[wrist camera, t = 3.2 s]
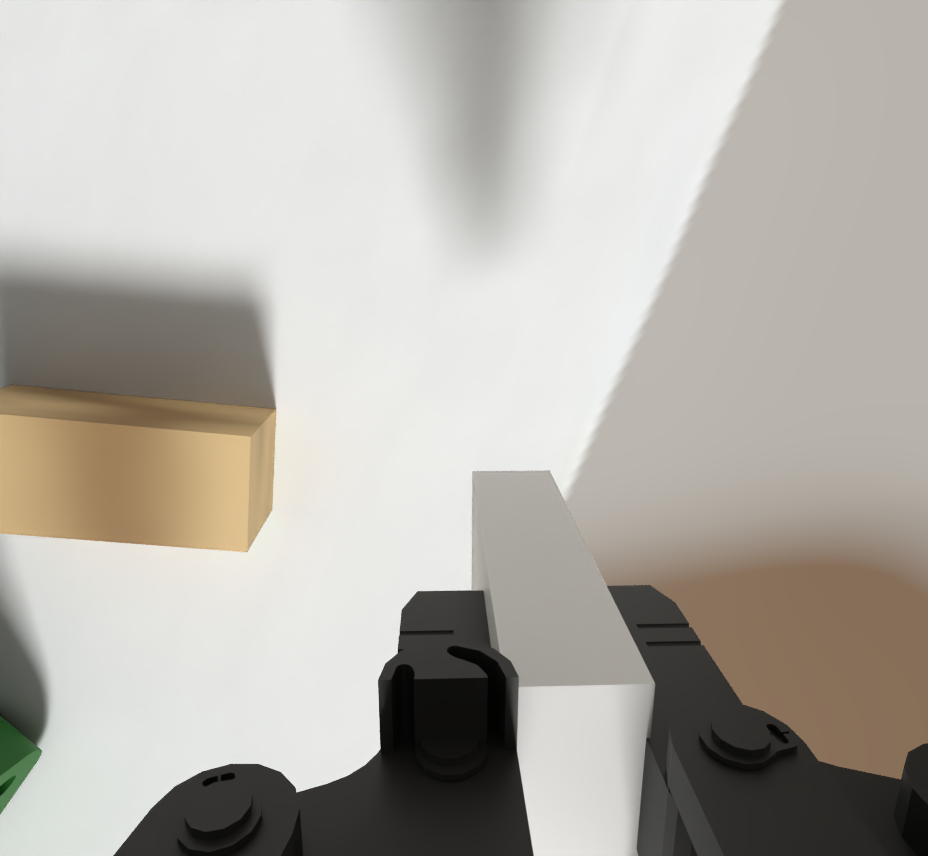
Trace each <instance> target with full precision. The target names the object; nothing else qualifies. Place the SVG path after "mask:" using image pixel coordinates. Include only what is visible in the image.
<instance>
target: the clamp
mask: <svg viewBox="0 0 928 856" xmlns="http://www.w3.org/2000/svg"><path fill="white" fill-rule="evenodd" d="M41 753H42V750H41V749H40V748H38V747H37V746H36V745H35V744H34V743H32V742H31V741H30V740H29V739H28V738H26V737H25V736H24V735H23V734H22V733H20V732H19V731H18V730H17V729H15V728H14V727H13V726H12V725H11V724H9V723H8V722H7V721H6V720H5V719H3V718H2V717H1V716H0V814H1V812H2V811H3V809H4V808H5V807H6V805H7V804H8V802H9V801H10V799H11V798H12V797H13V795H14V794H15V792H16V791H17V789H18V788H19V787H20V785H21V784H22V782H23V781H24V779H25V778H26V777H27V775H28V774H29V772H30V771H31V769H32V768H33V767H34V765H35V764H36V762H37V761H38V759H39V757H40V755H41Z"/></svg>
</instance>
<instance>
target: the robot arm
mask: <svg viewBox="0 0 928 856" xmlns="http://www.w3.org/2000/svg"><path fill="white" fill-rule="evenodd" d="M378 688H379V716H380V744H381V749H380V751H379V752H378V753H377V754H376V755H375V756H374V757H373V758H372V759H371V760H370V761H369V762H368V763H367V764H366V765H365V766H363V767H362V768H360V769H358V770H357V771H355V772H353V773H352V774H350V775H349V776H346V777H344V778H341V779H339V780H336V781H333V782H331V783H328V784H325V785H322V786H318V787H315V788H311V789H308V790H304V791H301V792H297V793H296V789H295V787H294V786H293V785H292V783H291V782H290V781H289V780H288V779H287V778H286V777H285V776H284V775H283V774H282V773H281V772H279V771H276V770H273V769H271V768H268V767H265V766H262V765H259V764H229V765H226V766H222V767H218V768H214V769H211V770H207V771H203V772H201V773H199V774H197V775H195V776H194V777H192V778H190V779H188V780H186V781H184V782H183V783H181V784H179V785H177V786H175V787H174V788H173V789H172V790H171V791H170V792H169V793H167V794H166V795H165V796H164V797H163V798H162V799H161V800H160V801H159V802H158V803H157V804H156V805H155V806H154V807H152V809H151V810H150V811H149V812H148V813H147V815H146V816H145V817H144V818H143V820H142V821H141V822H140V823H139V825H138V826H137V827H136V828H135V830H134V831H133V832H132V833H131V835H130V836H129V837H128V838H127V840H126V841H125V842H124V843H123V844H122V846H121V847H120V848H119V849H118V851H117V852H116V853H115V854H114V856H928V743H927V744H923V745H921V746H919V747H917V748H915V749H914V750H912V751H910V752H908V755H907V758H906V762H905V765H904V770H903V774H902V779H901V780H900V779H895V778H890V777H886V776H881V775H876V774H871V773H866V772H862V771H857V770H852V769H847V768H842V767H838V766H834V765H831V764H827V763H824V762H820V761H818V760H817V759H816V757H815V756H814V754H813V753H812V752H811V750H810V749H809V748H808V746H807V745H806V744H805V742H804V741H803V740H802V739H801V738H800V737H799V736H798V735H796V734H795V732H794V731H793V730H791V729H790V728H789V727H788V726H787V725H786V724H784V723H783V722H781V721H779V720H777V719H776V718H774V717H772V716H771V715H769V714H767V713H765V712H764V711H761V710H758V709H755V708H752V707H749V706H746V705H743V704H742V703H741V701H740V700H739V698H738V697H737V695H736V694H735V692H734V691H733V689H732V688H731V686H730V685H729V683H728V682H727V680H726V679H725V677H724V676H723V674H722V673H721V671H720V670H719V668H718V666H717V665H716V663H715V662H714V661H713V659H712V657H711V656H710V654H709V653H708V651H707V650H706V649H705V647H704V646H703V645H701V643H700V639H699V638H698V636H697V635H696V633H695V632H694V630H693V629H692V628H691V627H690V628H689V623H688V622H687V620H686V619H685V617H684V616H683V614H682V612H681V611H680V610H679V608H678V606H677V605H676V603H675V602H673V601H672V600H671V599H669V598H668V597H666V596H665V595H663V594H662V593H660V592H659V591H657V590H656V589H654V588H653V587H652V586H650V585H639V586H636V585H635V586H606V584H605V582H604V580H603V577H602V575H601V574H600V572H599V569H598V567H597V565H596V563H595V561H594V559H593V557H592V555H591V553H590V551H589V549H588V548H587V545H586V543H585V541H584V539H583V537H582V535H581V533H580V531H579V529H578V527H577V525H576V523H575V521H574V519H573V517H572V515H571V513H570V511H569V509H568V507H567V505H566V503H565V501H564V499H563V497H562V495H561V493H560V491H559V489H558V487H557V485H556V483H555V481H554V479H553V477H552V475H551V473H550V471H472V591H418V592H417V593H416V594H415V595H414V596H413V597H412V599H411V600H410V601H409V602H408V603H407V604H406V606H405V607H404V608H403V609H402V614H401V624H400V636H399V644H398V654H397V655H395V656H394V657H393V658H392V659H391V660H389V661H388V662H387V663H386V664H385V666H384V668H383V671H382V673H381V675H380V677H379V679H378Z"/></svg>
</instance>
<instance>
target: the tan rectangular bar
mask: <svg viewBox="0 0 928 856" xmlns="http://www.w3.org/2000/svg"><path fill="white" fill-rule="evenodd" d="M275 426H276V409H269V408H258V407H247V406H236V405H226V404H215V403H204V402H193V401H183V400H172V399H161V398H150V397H140V396H129V395H118V394H107V393H97V392H86V391H75V390H64V389H54V388H43V387H32V386H21V385H9V386H6V387H3V388H0V533H2V534H15V535H28V536H41V537H54V538H67V539H81V540H94V541H107V542H120V543H133V544H146V545H159V546H172V547H185V548H199V549H212V550H225V551H238V552H248V550H249V548H250V546H251V545H252V543H253V541H254V540H255V538H256V536H257V535H258V533H259V531H260V529H261V528H262V526H263V524H264V523H265V521H266V519H267V518H268V516H269V514H270V512H271V511H272V501H273V476H274V451H275Z"/></svg>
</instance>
